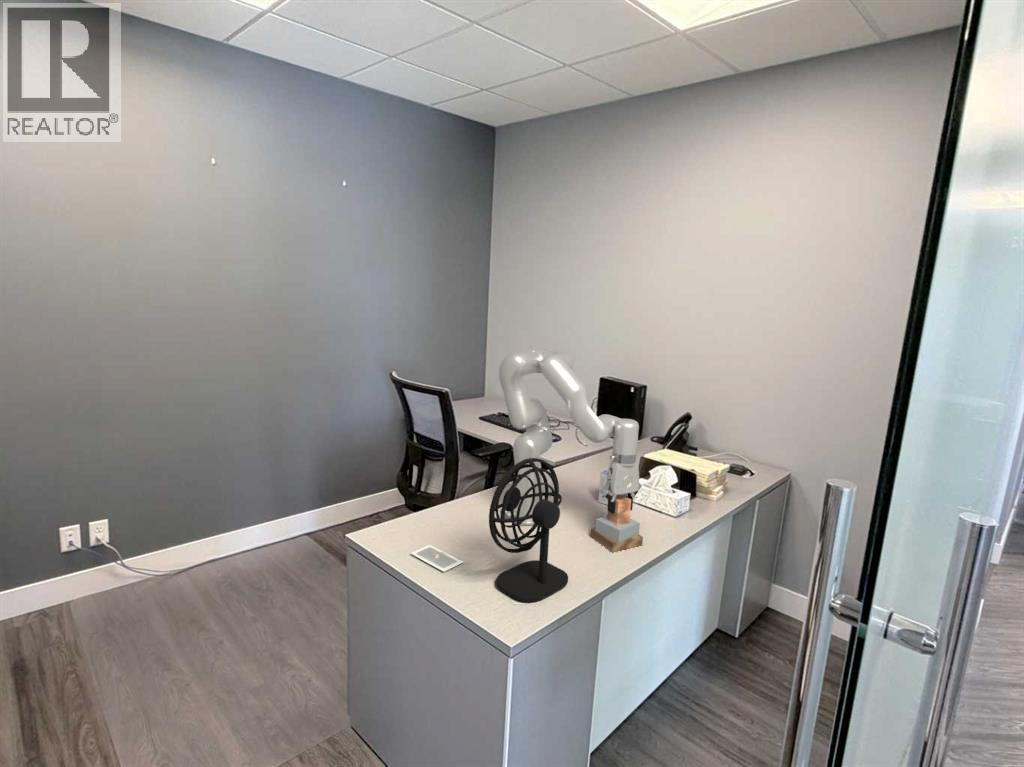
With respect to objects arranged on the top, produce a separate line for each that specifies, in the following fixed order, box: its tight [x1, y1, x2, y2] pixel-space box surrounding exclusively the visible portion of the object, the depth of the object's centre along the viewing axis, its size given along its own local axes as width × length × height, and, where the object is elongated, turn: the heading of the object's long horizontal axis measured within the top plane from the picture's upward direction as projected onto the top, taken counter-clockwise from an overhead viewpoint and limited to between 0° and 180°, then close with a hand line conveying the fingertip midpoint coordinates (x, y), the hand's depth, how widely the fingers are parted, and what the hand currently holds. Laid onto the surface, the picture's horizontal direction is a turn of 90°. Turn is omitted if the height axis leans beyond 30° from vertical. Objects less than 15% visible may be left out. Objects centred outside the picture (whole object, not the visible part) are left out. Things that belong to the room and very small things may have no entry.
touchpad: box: [410, 544, 464, 573], centre depth 161 cm, size 8×15×2 cm, turn 49°
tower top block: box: [594, 514, 641, 542], centre depth 176 cm, size 10×10×4 cm
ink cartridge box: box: [597, 469, 627, 506], centre depth 207 cm, size 10×6×14 cm, turn 53°
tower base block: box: [589, 526, 644, 554], centre depth 177 cm, size 12×12×4 cm
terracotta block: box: [607, 494, 631, 525], centre depth 175 cm, size 5×5×8 cm
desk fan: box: [488, 458, 569, 603], centre depth 148 cm, size 27×18×35 cm, turn 135°
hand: (619, 510), depth 175 cm, fingers open, 6 cm apart
